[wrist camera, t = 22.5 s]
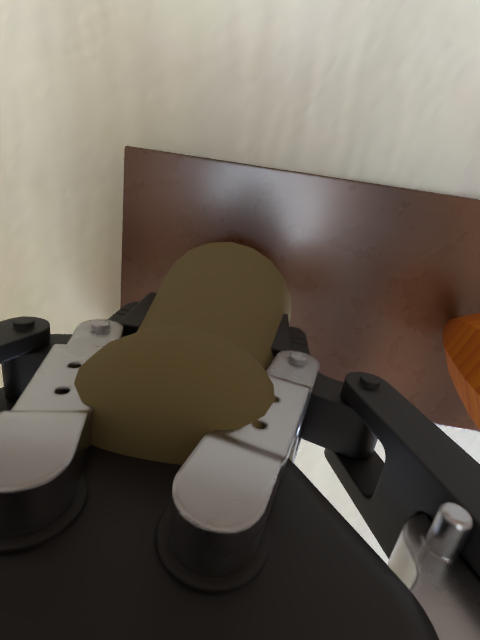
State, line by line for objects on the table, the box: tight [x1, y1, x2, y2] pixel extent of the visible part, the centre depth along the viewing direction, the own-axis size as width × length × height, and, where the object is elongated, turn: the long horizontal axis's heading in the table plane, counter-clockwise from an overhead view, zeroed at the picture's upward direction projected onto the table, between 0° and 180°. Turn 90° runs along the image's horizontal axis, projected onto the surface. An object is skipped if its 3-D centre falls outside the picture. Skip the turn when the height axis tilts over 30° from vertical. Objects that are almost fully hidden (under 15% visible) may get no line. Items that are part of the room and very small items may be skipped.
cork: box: [74, 242, 293, 465], centre depth 11 cm, size 6×6×11 cm
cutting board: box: [120, 146, 480, 432], centre depth 20 cm, size 24×12×2 cm, turn 82°
